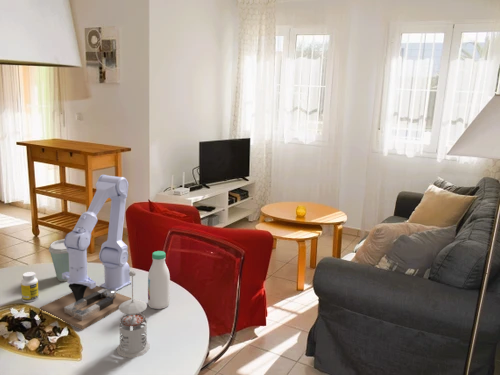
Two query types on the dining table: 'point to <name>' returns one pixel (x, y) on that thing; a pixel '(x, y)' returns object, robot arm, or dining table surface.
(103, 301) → the tongs fixed arm
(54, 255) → the disposable coffee cup
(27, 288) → the supplement bottle
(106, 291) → the tongs arm
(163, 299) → the milk bottle
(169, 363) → the dining table surface
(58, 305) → the cutting board
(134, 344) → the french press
